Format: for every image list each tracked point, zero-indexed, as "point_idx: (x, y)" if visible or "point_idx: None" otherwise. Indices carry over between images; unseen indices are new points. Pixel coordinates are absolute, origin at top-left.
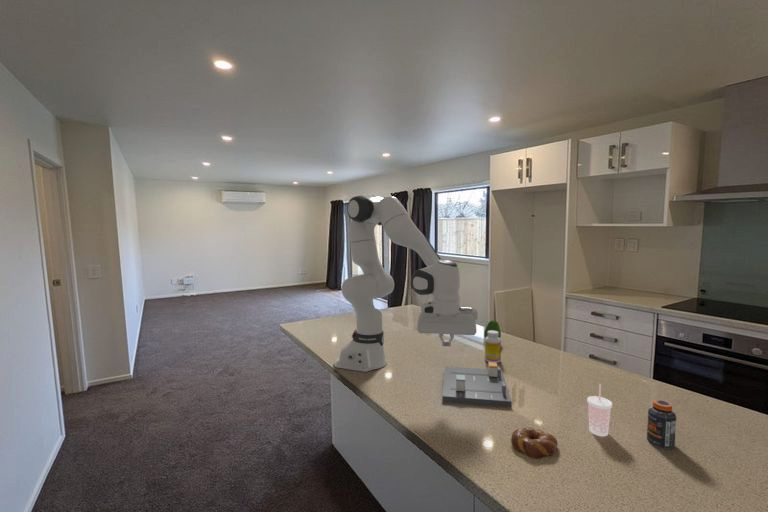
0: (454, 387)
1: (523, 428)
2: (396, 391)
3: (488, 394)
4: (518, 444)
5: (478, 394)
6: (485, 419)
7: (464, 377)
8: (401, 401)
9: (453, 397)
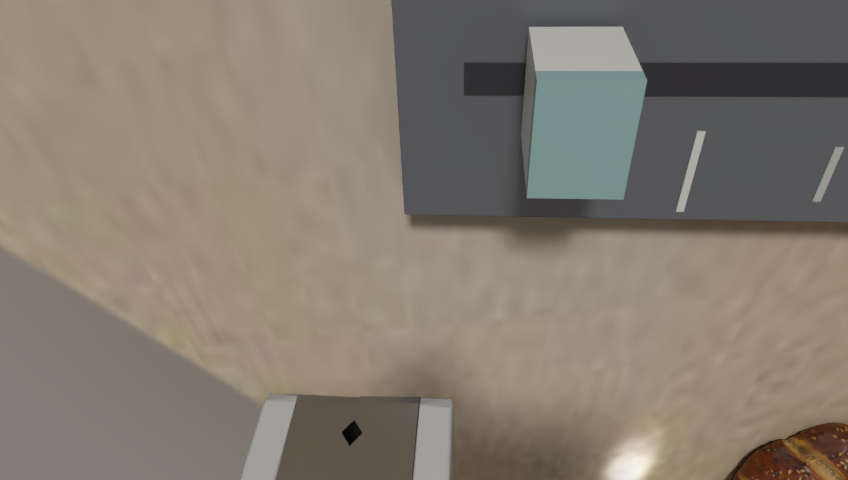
0: (507, 46)
1: (836, 468)
2: (2, 79)
3: (817, 137)
4: None
5: (719, 150)
6: (675, 333)
7: (626, 144)
8: (125, 217)
9: (491, 214)
